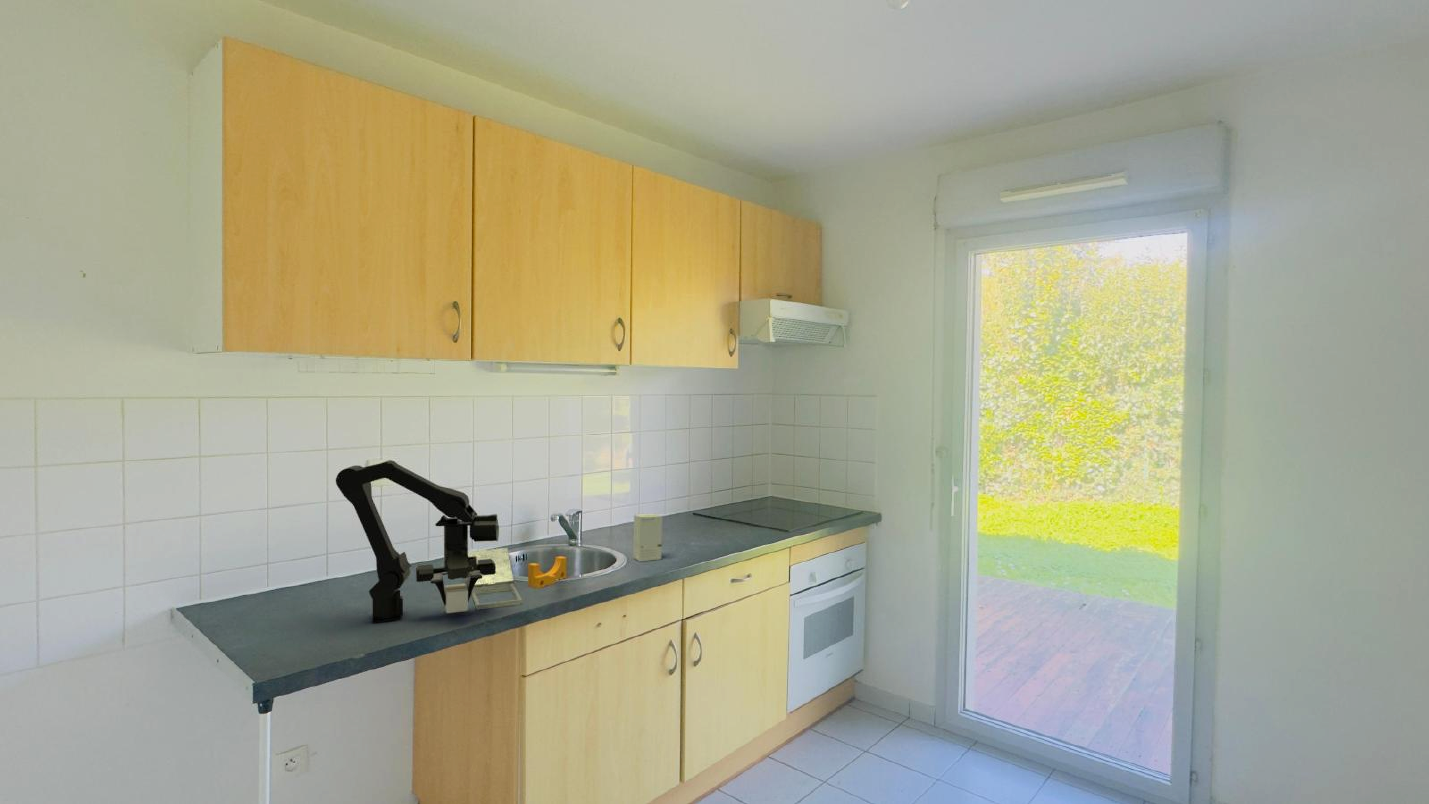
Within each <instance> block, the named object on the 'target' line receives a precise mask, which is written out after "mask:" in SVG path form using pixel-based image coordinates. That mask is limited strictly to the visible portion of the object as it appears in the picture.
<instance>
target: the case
mask: <svg viewBox="0 0 1429 804" xmlns="http://www.w3.org/2000/svg"><path fill="white" fill-rule="evenodd" d="M508 551H509V550H508V548H507V547H502V548H493V549H492V548H491V549H490V548H489V549H480V550H479V549H478V550H470V551H469V550H468V557H474V556H476V558H477V562H478V560H485V559H492V560H493V561H494V563H495V566H496V574H493V575H482V578H481V579H478V580H477V582H476V583H475V585H474V588H473V590H472V593H471V597H472V600H473V603H474V604H475V605H474V606H475V609H476V610H477V611H478V610H484V609H485V610H486V609H493V608H502V607H509V606H517V605H518V606H519V605H522V604H523V600H522V598H521V595H520V594H519V592H518V591H517V589H516V587H515V581H514V576H513V572H512V567H511V561H510V556H509V552H508ZM507 591H511V592H512V595H513V596H514V598H515V599H509V600H503V601H502V600H501V601H494V602H487V603H485V602H484V603H480V601H479V599H478V596H477V595H481V594H482V595H484V594H491V593H499V592H507Z"/></svg>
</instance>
